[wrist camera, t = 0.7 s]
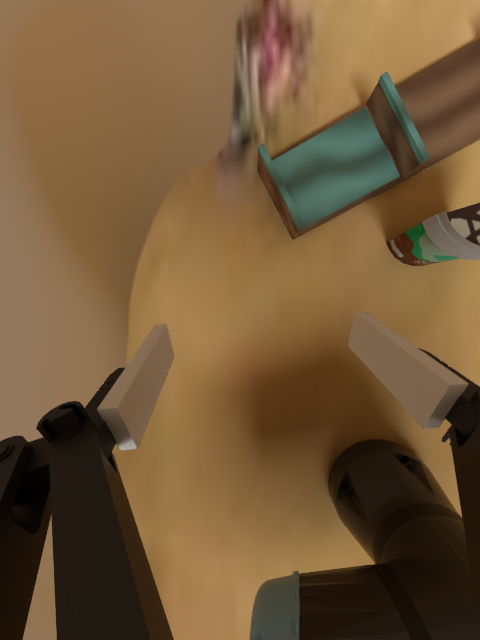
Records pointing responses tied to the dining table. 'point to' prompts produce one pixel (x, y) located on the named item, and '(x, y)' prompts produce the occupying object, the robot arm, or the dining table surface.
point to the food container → (440, 238)
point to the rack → (377, 143)
